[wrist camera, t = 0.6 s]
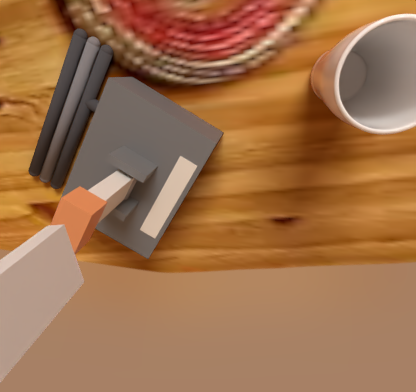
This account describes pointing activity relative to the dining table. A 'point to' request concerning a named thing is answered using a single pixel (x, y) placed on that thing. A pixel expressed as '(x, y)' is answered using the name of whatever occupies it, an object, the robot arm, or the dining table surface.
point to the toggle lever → (91, 206)
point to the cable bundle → (70, 107)
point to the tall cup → (372, 76)
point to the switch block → (142, 159)
